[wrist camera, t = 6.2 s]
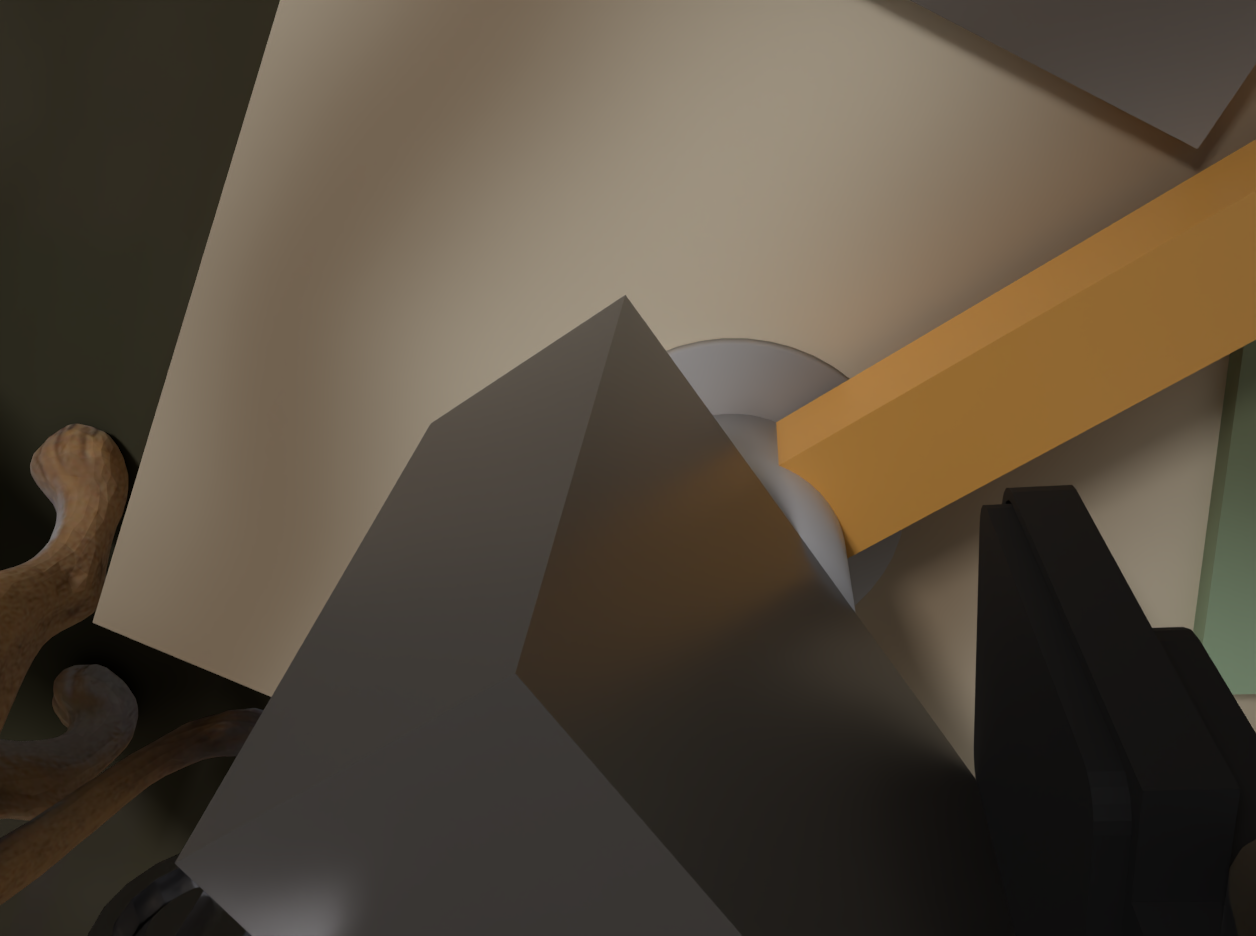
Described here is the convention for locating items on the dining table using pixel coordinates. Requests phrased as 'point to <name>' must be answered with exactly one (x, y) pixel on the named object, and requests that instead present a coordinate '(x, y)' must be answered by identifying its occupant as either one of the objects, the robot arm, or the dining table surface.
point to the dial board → (679, 277)
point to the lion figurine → (79, 674)
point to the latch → (685, 628)
